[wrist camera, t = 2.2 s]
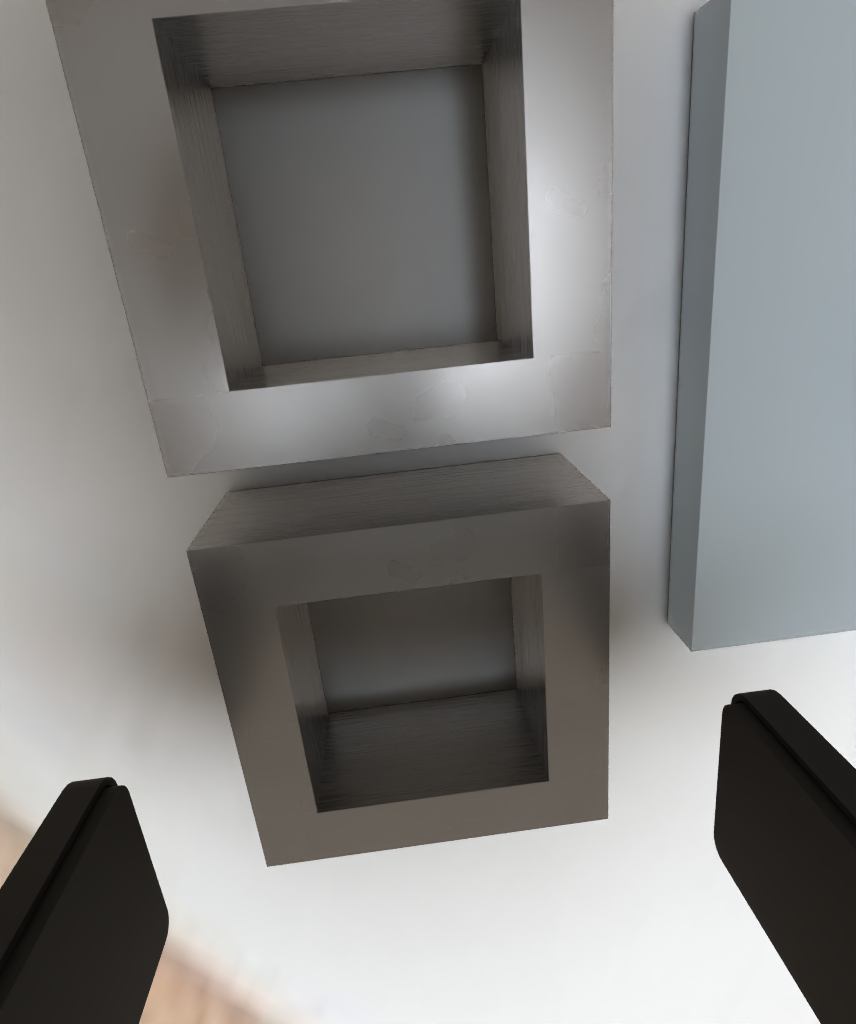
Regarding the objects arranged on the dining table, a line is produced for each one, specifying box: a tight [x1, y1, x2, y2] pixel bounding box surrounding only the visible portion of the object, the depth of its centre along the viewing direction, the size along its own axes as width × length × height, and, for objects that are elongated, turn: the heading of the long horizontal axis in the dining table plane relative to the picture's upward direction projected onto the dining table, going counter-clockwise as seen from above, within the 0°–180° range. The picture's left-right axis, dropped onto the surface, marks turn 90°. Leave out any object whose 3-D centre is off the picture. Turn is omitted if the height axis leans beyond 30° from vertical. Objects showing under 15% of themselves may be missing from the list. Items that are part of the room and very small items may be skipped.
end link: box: [187, 453, 610, 867], centre depth 13 cm, size 7×7×3 cm
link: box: [46, 0, 613, 477], centre depth 10 cm, size 7×7×3 cm
